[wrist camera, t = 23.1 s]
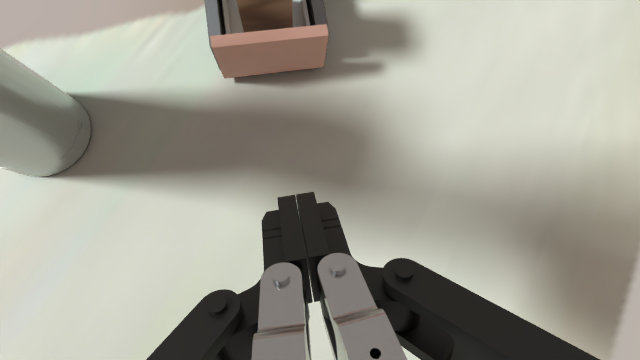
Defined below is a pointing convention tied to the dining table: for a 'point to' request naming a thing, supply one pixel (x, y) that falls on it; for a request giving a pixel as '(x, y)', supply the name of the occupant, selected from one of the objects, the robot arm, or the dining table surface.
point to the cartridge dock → (218, 23)
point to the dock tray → (269, 45)
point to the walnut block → (265, 14)
